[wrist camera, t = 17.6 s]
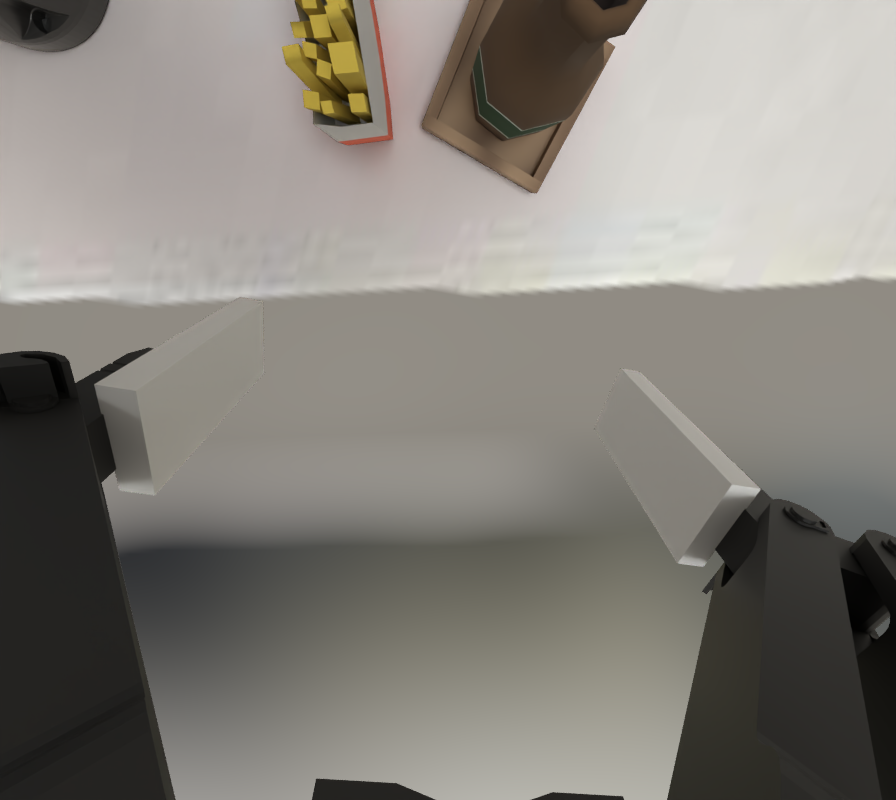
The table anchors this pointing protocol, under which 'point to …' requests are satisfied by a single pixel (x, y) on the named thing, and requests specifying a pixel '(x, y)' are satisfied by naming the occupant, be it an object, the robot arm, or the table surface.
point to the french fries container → (342, 69)
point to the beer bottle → (542, 60)
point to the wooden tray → (456, 113)
